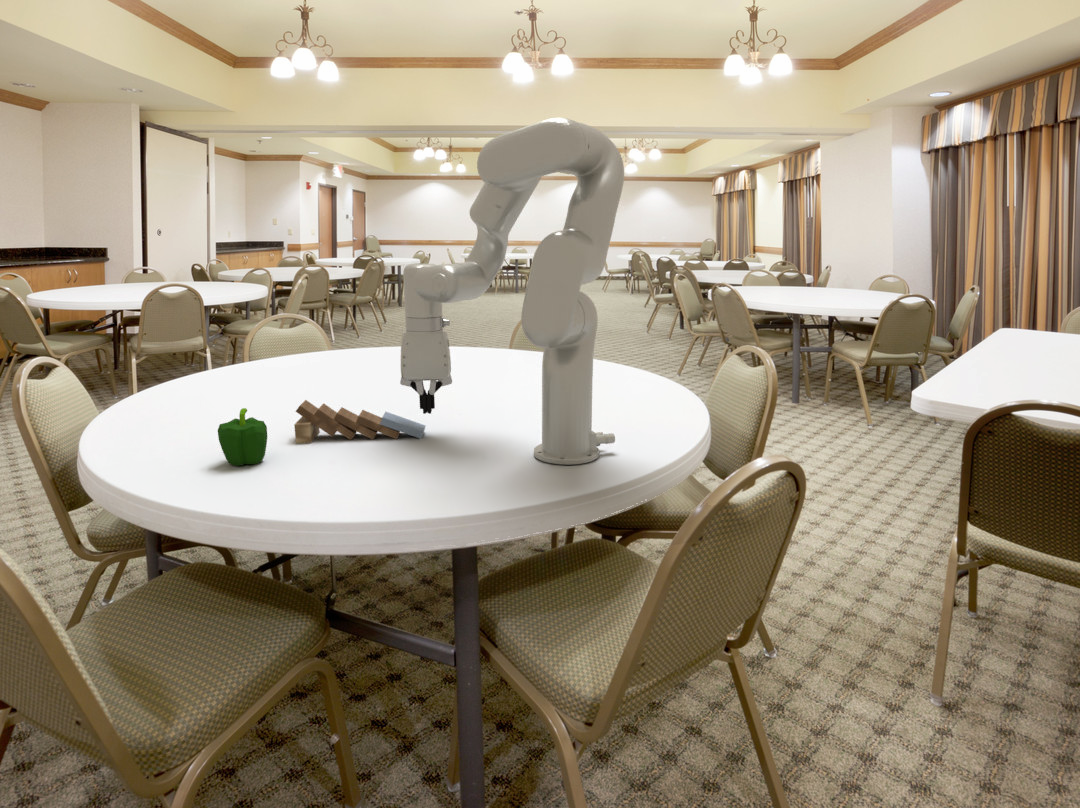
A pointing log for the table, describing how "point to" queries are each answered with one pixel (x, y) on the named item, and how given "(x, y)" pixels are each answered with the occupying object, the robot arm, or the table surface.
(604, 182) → the robot arm
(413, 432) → the blue grey rectangular block
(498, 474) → the table surface
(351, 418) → the walnut tile
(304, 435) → the oak end block
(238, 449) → the bell pepper
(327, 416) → the walnut tile
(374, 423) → the walnut tile
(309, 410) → the walnut tile
